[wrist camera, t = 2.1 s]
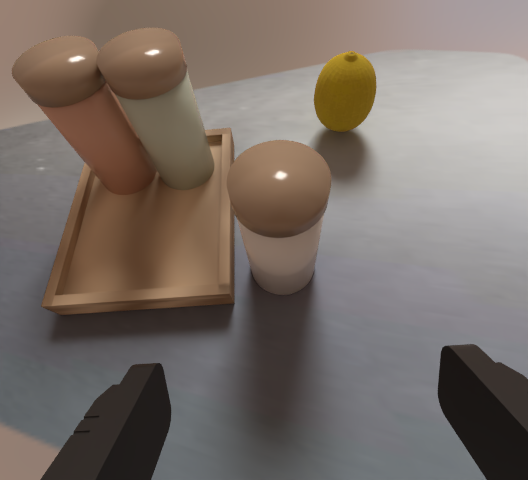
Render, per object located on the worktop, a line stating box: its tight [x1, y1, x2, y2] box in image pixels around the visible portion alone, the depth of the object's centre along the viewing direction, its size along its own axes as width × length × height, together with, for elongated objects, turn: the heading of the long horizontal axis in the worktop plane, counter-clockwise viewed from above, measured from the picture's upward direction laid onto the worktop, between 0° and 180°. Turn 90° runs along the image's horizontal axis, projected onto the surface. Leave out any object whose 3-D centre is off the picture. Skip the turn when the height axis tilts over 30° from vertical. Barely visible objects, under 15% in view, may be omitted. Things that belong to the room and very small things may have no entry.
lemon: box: [314, 51, 376, 132], centre depth 29 cm, size 6×6×8 cm
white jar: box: [227, 140, 331, 295], centre depth 21 cm, size 5×5×11 cm
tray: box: [41, 128, 234, 315], centre depth 28 cm, size 14×17×2 cm
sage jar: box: [96, 28, 215, 190], centre depth 25 cm, size 5×5×11 cm
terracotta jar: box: [12, 36, 157, 195], centre depth 25 cm, size 5×5×11 cm
